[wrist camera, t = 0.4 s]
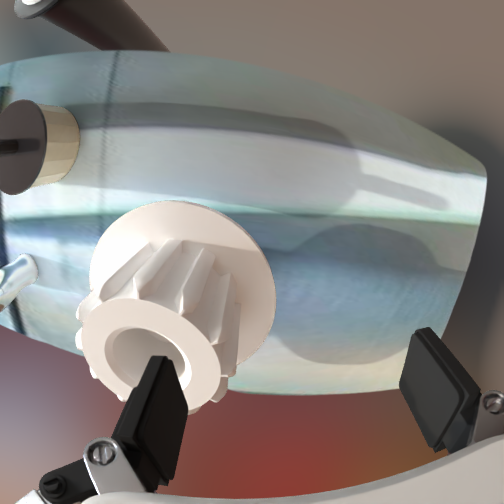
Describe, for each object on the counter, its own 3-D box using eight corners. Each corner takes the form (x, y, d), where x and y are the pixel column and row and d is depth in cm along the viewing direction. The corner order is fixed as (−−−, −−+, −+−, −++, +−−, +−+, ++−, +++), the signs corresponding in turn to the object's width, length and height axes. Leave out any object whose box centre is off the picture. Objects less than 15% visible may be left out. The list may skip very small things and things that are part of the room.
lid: (-8, 118, 25) (-36, 119, 19) (49, 85, 25) (19, 79, 19) (-2, 201, 29) (-29, 210, 23) (55, 182, 29) (23, 190, 23)
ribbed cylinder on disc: (226, 162, 36) (200, 168, 18) (297, 317, 43) (320, 411, 25) (84, 240, 39) (5, 292, 21) (162, 363, 47) (132, 447, 29)
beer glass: (37, 252, 40) (-19, 287, 26) (42, 288, 42) (-6, 328, 28) (14, 248, 40) (-39, 279, 26) (19, 282, 42) (-28, 317, 28)
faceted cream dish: (24, 120, 33) (-9, 120, 24) (77, 96, 32) (44, 89, 24) (30, 189, 36) (-3, 199, 28) (83, 174, 36) (49, 180, 28)
